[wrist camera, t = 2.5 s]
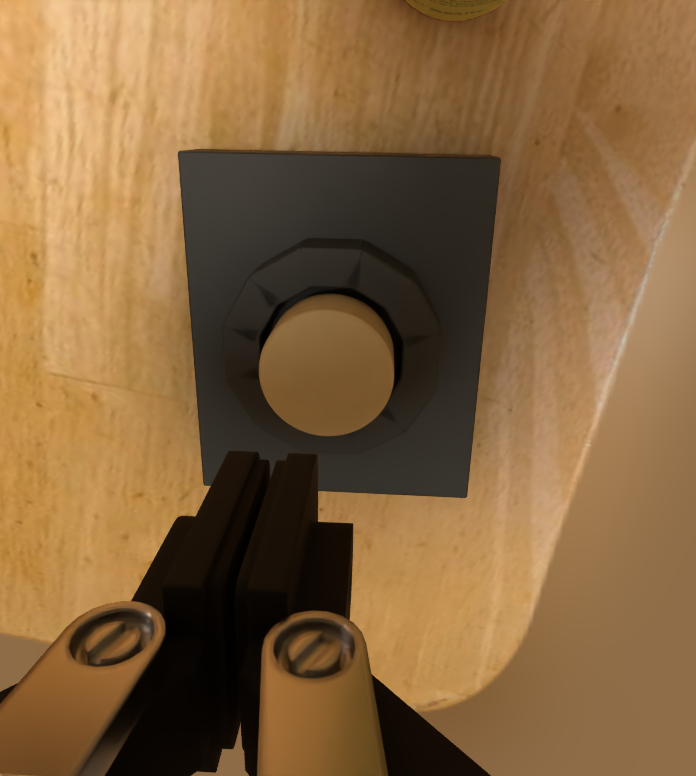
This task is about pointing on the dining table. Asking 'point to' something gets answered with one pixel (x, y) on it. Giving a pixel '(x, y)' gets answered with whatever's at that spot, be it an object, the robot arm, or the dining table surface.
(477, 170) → the button housing
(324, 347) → the tan button cap
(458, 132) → the dining table surface
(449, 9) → the tube
